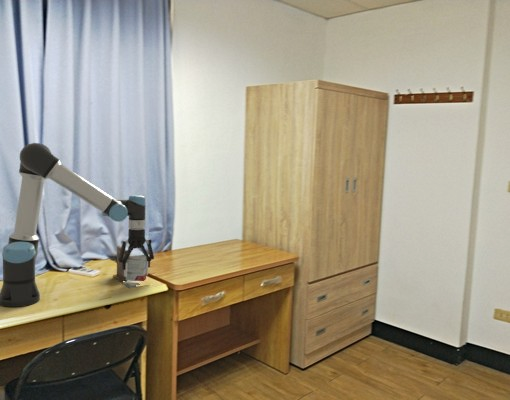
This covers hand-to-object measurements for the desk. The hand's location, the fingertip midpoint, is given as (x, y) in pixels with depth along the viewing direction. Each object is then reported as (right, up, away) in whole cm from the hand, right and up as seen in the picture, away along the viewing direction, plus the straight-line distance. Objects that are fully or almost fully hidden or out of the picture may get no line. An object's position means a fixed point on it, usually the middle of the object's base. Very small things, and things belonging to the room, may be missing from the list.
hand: (136, 275), depth 220 cm
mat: (0, -4, 0) cm, 4 cm away
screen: (-9, -3, +9) cm, 13 cm away
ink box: (0, -2, 0) cm, 2 cm away
